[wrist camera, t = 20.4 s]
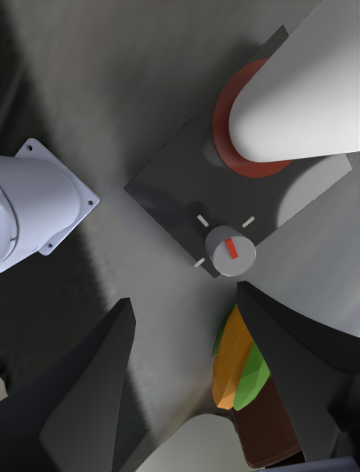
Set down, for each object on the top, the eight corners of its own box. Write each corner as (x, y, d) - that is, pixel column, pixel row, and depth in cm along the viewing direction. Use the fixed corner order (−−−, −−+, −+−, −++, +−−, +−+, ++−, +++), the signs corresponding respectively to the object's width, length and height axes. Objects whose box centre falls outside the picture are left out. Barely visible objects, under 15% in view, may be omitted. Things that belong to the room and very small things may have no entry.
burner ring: (249, 197, 18) (250, 197, 18) (190, 118, 15) (191, 118, 15) (327, 129, 16) (329, 129, 16) (278, 29, 14) (279, 27, 13)
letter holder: (344, 359, 31) (475, 496, 18) (262, 419, 35) (320, 565, 22) (311, 336, 29) (438, 475, 15) (227, 403, 33) (270, 558, 20)
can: (214, 147, 16) (339, 79, 4) (247, 62, 14) (596, -416, 3) (275, 173, 17) (494, 171, 6) (313, 98, 15) (749, -127, 4)
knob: (245, 250, 20) (263, 267, 16) (212, 265, 20) (222, 284, 16) (233, 218, 18) (250, 229, 15) (198, 235, 19) (206, 249, 15)
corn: (324, 332, 17) (255, 445, 24) (281, 286, 25) (237, 382, 31) (253, 320, 17) (201, 439, 23) (230, 277, 24) (195, 377, 30)
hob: (211, 276, 23) (217, 288, 21) (124, 190, 19) (118, 193, 16) (335, 176, 20) (359, 177, 18) (266, 46, 16) (285, 22, 13)
